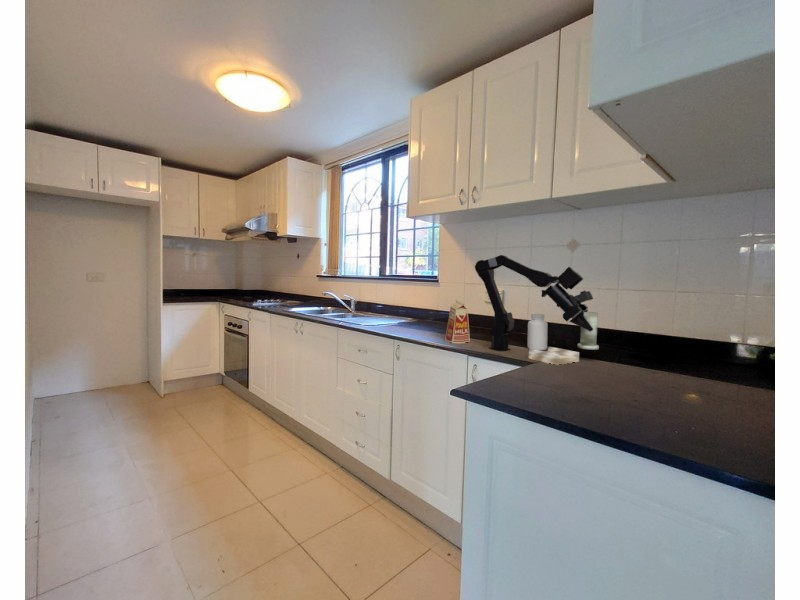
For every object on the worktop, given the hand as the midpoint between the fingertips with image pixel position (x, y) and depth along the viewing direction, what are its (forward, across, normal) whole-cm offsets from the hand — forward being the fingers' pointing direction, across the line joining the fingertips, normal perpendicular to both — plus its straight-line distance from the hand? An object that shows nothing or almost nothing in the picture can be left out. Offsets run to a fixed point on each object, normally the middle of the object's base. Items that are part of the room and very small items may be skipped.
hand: (593, 329), depth 124 cm
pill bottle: (-7, +12, +24) cm, 28 cm away
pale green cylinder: (+4, 0, +6) cm, 7 cm away
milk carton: (-31, +5, +49) cm, 58 cm away
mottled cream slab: (0, -7, +16) cm, 18 cm away
